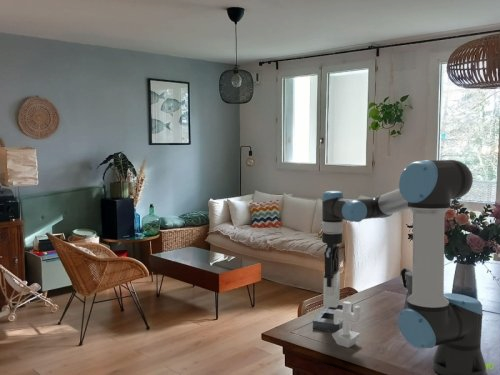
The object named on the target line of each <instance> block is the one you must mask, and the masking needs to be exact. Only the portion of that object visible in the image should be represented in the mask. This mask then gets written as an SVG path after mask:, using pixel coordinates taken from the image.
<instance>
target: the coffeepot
mask: <svg viewBox="0 0 500 375" xmlns="http://www.w3.org/2000/svg"><path fill="white" fill-rule="evenodd" d="M400 275H401V280H402V284H403V287H404V288H405V289H407V293H406V297H405V301H404V306H403V309H406V308H407V298H408V297H409V296H410V295H411V294H412V286H413V270H411V269H407V268H405V267H404V268H403V269H402V270H401V271H400Z"/></svg>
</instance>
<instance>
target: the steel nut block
mask: <svg viewBox="0 0 500 375" xmlns="http://www.w3.org/2000/svg"><path fill="white" fill-rule="evenodd" d="M340 274H341V271H340V269H339V270H333V278H334V289H333V296H332V295H326V278H324V277H323V294H322V296H323V298H322V300H323V302H322V303H323V304H322V305H323V307H325V306H327V307H334V308H336V307H337V306H338V305H339V303H340V295H341V294H340V288H341V287H340V286H341V284H340V283H341V278H340V277H341V275H340ZM324 275H325V271H324V272H323V276H324Z"/></svg>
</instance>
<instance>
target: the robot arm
mask: <svg viewBox="0 0 500 375" xmlns="http://www.w3.org/2000/svg"><path fill="white" fill-rule="evenodd" d="M399 176H400V177H399V182H398V188H396V189H394V190H393V191H388V192H386V193H383V194H381V195H379V196H375V197H369V198H368V197H366V198H352V199H351V198H344V193H343V192H342V191H339V190H327V191H324V192H323V193H322V202H321V203H322V204H321V205H322V210H321V211H322V212H321V213H322V222H321V223H320V225H321V226H322V227H321V228H322V230H321V231H322V234H321V242H322V243H323V244H326V248H325V251H324V272H325V275H324V274H323V279H324V278H326V295H332V296H333V289H334V278H333V270H340V267H339V266H340V259H339V257H340V245H339V244H342V243H343V233H342V232H343V231H344V230H343V225H344V224H343V220H345V221H348V222H350V223H352V222H353V223H354V222H355V223H361V222H362V221H363V220H369V219H370V220H371V219H385V218H388V217H392V216H393V214H396V213H399V212H402V211H405V210H408V209H409V210H410V212H412V271H413V286H412V294H411V295H410V296H409V297H408V298H407V308H406V309H405V308H403V309H402V310H401V312H399V314H398V319H397V321H398V328H399V331H400V333H401V335H402V337H403V338H404V340H405V341H406V342H407V343H408V344H409V345H410V346H412V347H414V348H416V349H419V350H421V349H422V350H423V349H432V348H435V347H436V350H435V352H434V355H433V357H432V368H433V369H434V371H435V372H436V373H438V374H440V375H486V374H487V366H486V362H485V359H484V355H483V353H482V350H481V348H482V345H481V344H482V328H483V327H482V326H483V316H484V313H483V304H482V303H481V301H480V300H478V299H477V298H474V297H471V296H468V295H465V294H460V293H450V292H449V293H448V292H447V293H444V291H445V288H444V287H445V285H444V284H445V283H444V281H445V218H446V217H445V215H446V213H447V212H448V211H449V210H450V209H451V201H452V200H455V199H460V198H462V197H464V196H465V195H467V194H468V193H469V191H470V190H471V189H472V186H473V180H474V179H473V173H472V171H471V169H470V168H469V167H468V166H467V165H466V164H465V163H463V162H461V161H459V160H456V159H441V160H440V159H439V160H438V159H437V160H436V159H435V160H429V159H425V160H419V161H417V160H416V161H413V162H410V163H409V164H408V165H406V167H405V168H404V169H403V170H402V172H401V173H400V175H399Z"/></svg>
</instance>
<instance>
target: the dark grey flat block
mask: <svg viewBox="0 0 500 375" xmlns="http://www.w3.org/2000/svg"><path fill="white" fill-rule="evenodd" d="M336 309H339V310H342V309H343V302H339V305H338V306H337V307H336V308H334V307H327V306H323V308H322V309H321V310H320V312H318V314H317V315H316V316H315V318H314V319H313V320H312V329H315V330H321V331H326V332H333V333H335V332H337V331H338V330H340V329H342V325H343V319H342V318H339V324H337V325H335V324H334V311H335V310H336ZM351 312H352V313H354V304H353V303H351Z"/></svg>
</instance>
